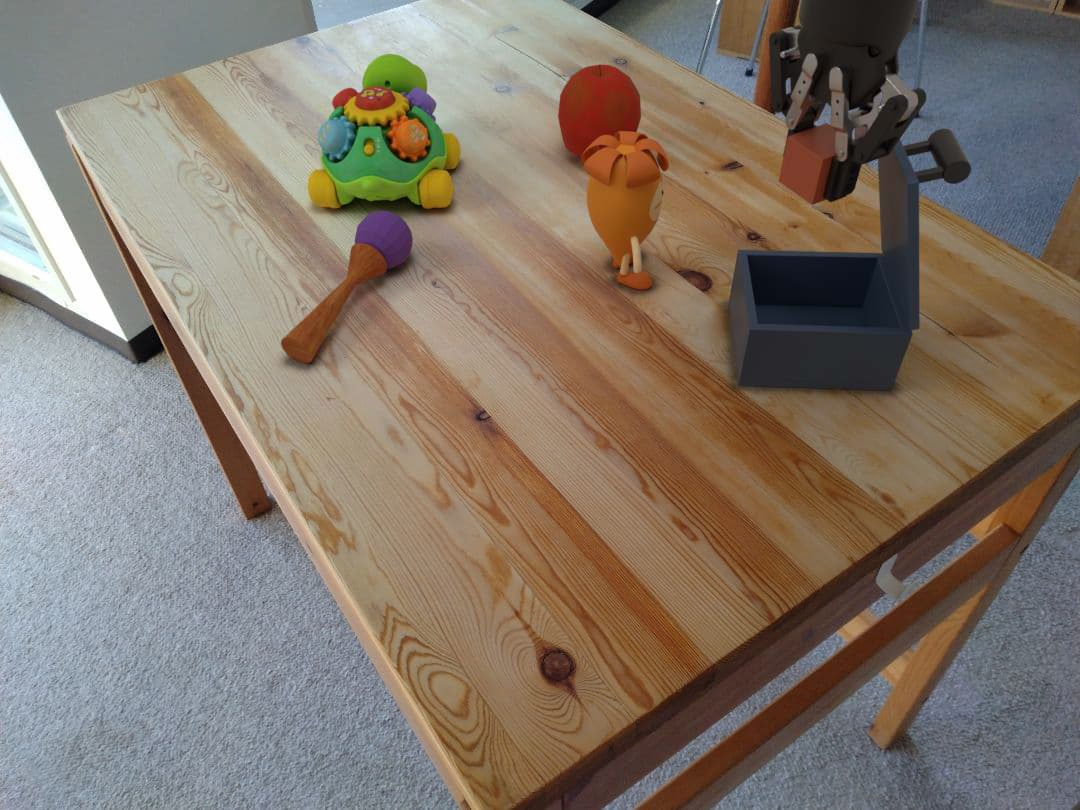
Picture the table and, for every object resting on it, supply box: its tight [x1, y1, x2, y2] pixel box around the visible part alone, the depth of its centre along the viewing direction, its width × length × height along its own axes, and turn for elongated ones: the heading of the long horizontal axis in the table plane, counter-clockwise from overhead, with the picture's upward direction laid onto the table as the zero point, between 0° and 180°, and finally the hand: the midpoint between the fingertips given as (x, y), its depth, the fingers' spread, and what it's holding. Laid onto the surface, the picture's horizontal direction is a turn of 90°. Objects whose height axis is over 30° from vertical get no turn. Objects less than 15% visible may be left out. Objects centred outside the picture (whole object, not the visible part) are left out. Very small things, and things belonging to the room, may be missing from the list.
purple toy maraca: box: [280, 210, 414, 364], centre depth 86 cm, size 6×6×20 cm
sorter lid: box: [877, 113, 972, 331], centre depth 70 cm, size 14×12×5 cm
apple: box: [557, 64, 642, 160], centre depth 102 cm, size 10×10×12 cm
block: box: [778, 122, 855, 206], centre depth 67 cm, size 4×4×4 cm
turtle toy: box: [307, 53, 462, 210], centre depth 100 cm, size 17×23×12 cm
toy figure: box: [580, 131, 670, 291], centre depth 84 cm, size 12×8×15 cm
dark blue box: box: [727, 249, 914, 392], centre depth 78 cm, size 14×12×7 cm
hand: (815, 182), depth 68 cm, fingers closed on block, 4 cm apart
